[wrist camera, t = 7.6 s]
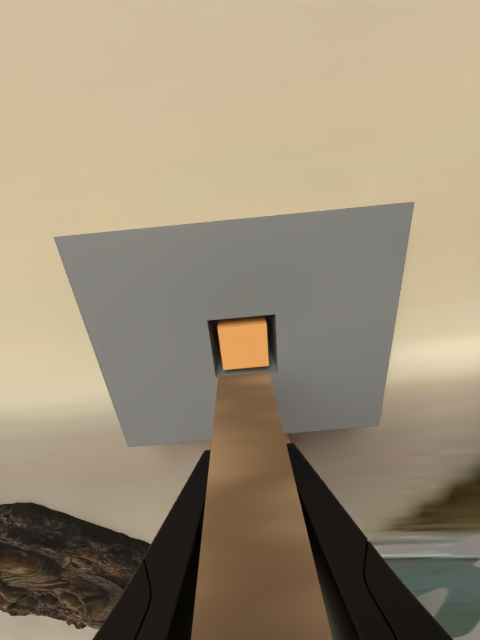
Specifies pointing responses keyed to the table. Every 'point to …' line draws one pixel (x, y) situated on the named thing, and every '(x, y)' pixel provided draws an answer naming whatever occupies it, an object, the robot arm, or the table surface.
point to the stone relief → (62, 565)
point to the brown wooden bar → (254, 527)
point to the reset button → (243, 342)
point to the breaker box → (243, 315)
